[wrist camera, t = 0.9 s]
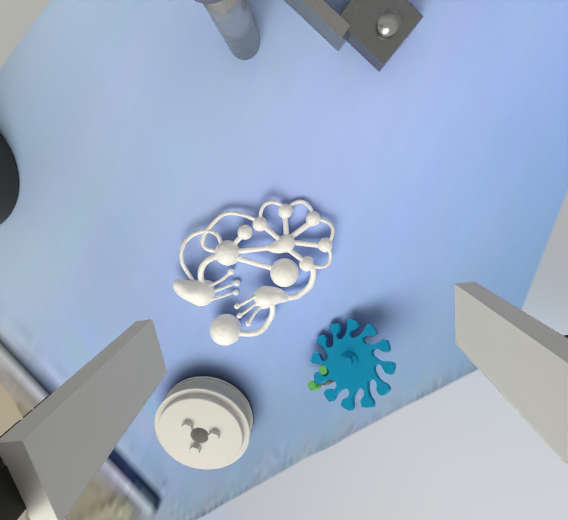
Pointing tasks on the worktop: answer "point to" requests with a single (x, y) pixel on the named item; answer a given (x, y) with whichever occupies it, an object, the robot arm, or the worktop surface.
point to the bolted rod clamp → (362, 25)
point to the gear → (351, 365)
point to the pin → (235, 25)
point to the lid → (204, 423)
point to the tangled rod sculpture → (282, 270)
